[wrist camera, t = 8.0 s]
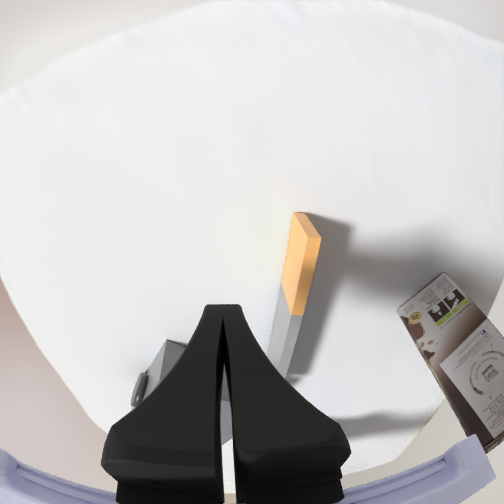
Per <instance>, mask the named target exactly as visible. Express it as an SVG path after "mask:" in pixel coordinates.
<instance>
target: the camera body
mask: <svg viewBox="0 0 504 504" xmlns="http://www.w3.org/2000/svg"><path fill="white" fill-rule="evenodd" d="M185 348H186V347H184V346H181V345H179V344H176V343H174V342H171V341H169V340H166V341H165V343H164V345H163V346H162V348H161V350H160V351H159V353H158V355H157V356H156V358H155V360H154V361H153V363H152V365H151V366H150V368H149V370H148V371H147V373H146V374H145V373H141V374H140V375H139V377H138V380H137V382H136V385H135V388H134V391H133V395H132V399H131V406H132V410H133V409H134V408H135V407H137V406H138V405H139V404H140V403H141V402H142V401H143V400H144V399H145V398H146V397H147V396H148V395H149V394H150V393H151V392H152V391H153V390H154V389H155V388H156V387H157V386H158V385H159V383H160V382H161V381H162V380H163V379H164V378H165V376H166V375H167V374H168V373H169V371H170V370H171V369H172V367H173V366H174V365H175V363H176V362H177V360H178V359H179V358H180V356H181V354H182V353H183V351H184V350H185ZM220 420H221V445H223V444H224V443H226V442H227V441H229V440H230V439H232V438H233V436H232V417H231V407H230V401H229V394H228V386H227V379H226V372H225V364H224V373H223V386H222V398H221V416H220Z"/></svg>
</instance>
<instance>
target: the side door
mask: <svg viewBox="0 0 504 504" xmlns="http://www.w3.org/2000/svg"><path fill="white" fill-rule="evenodd" d="M321 239H322V238H321V236H320V235H319V233H318V232H317V230H316V229H315V228H314V226H313V225H312V223H311V222H310V220H309V219H308V217H307V216H306V214H305V213H294V212H293V217H292V223H291V229H290V235H289V241H288V247H287V253H286V258H285V264H284V270H283V275H282V281H281V286H280V292H279V297H278V302H277V308H276V313H275V318H274V323H273V329H272V334H271V339H270V344H269V349H268V353H267V357H268V359H269V360H270V362H271V363H272V364H273V365H274V367H275V368H276V369H277V370H278V372H279V373H280V374H281V375H282V376H283V377H284V378H286V375H287V371H288V368H289V365H290V361H291V358H292V354H293V351H294V347H295V344H296V340H297V337H298V333H299V329H300V326H301V322H302V318H303V314H304V310H305V307H306V303H307V299H308V295H309V291H310V287H311V283H312V278H313V274H314V270H315V266H316V261H317V257H318V253H319V248H320V244H321Z"/></svg>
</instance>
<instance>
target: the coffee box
mask: <svg viewBox="0 0 504 504" xmlns="http://www.w3.org/2000/svg"><path fill="white" fill-rule="evenodd" d="M397 312H398V314H399V316H400V318H401V320H402V321H403V323H404V325H405V326H406V328H407V330H408V332H409V334H410V335H411V337H412V339H413V341H414V343H415V344H416V346H417V348H418V350H419V351H420V353H421V355H422V357H423V358H424V360H425V362H426V363H427V365H428V367H429V368H430V370H431V372H432V374H433V375H434V377H435V379H436V381H437V382H438V384H439V386H440V388H441V389H442V391H443V393H444V395H445V396H446V398H447V400H448V402H449V404H450V405H451V407H452V409H453V411H454V413H455V414H456V416H457V418H458V420H459V422H460V424H461V426H462V428H463V430H464V431H465V434H466V436H467V437H469V436H471V435H473V434H476V435H477V437H478V439H479V441H480V443H481V445H482V447H483V449H484V451H485V454H487V453H488V452H490V451H491V450H492V449H494V448H495V447H496V446H498V445H499V444H500V443H501V442H502V441H503V440H504V337H503V336H502V335H501V334H500V332H499V331H498V330H497V329H496V328H495V327H494V325H493V324H492V323H491V322H490V320H489V319H488V318H487V317H486V316H485V315H484V314H483V313H482V312H481V310H480V309H479V308H478V307H477V306H476V305H475V304H474V303H473V301H472V300H471V299H470V298H469V297H468V296H467V295H466V294H465V293H464V292H463V291H462V290H461V289H460V287H459V286H458V285H457V284H456V283H455V282H454V281H453V280H452V279H451V278H450V277H449V276H448V275H447V274H446V273H445V272H444V273H442V274H441V275H440V276H439V277H437V278H436V279H435V280H434V281H433V282H432V283H430V284H429V285H428V286H427V287H425V288H424V289H423V290H422V291H420V292H419V293H418V294H416V295H415V296H414V297H413V298H411V299H410V300H409V301H408V302H406V303H405V304H404V305H402V306H401V307H399V308H398V311H397Z"/></svg>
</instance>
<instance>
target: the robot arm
mask: <svg viewBox="0 0 504 504" xmlns="http://www.w3.org/2000/svg"><path fill="white" fill-rule="evenodd" d="M224 364H225V372H226V379H227V386H228V394H229V401H230V407H231V417H232V436H233V438H232V439H233V454H234V471H235V487H236V500H237V501H236V504H459V503H461V502H462V501H464V500H465V499H467V498H468V497H470V496H471V495H473V494H474V493H476V492H477V491H479V490H480V489H481V488H483V487H484V486H486V485H487V484H489V483H490V482H491V481H493V480H494V479H495V478H496V475H495V473H494V471H493V469H492V467H491V464H490V462H489V460H488V458H487V456H486V454H485V451H484V449H483V447H482V445H481V443H480V441H479V439H478V437H477V435H476V434H473V435H471V436H469V437H468V438H466V439H464V440H462V441H460V442H458V443H456V444H455V445H453V446H452V447H451V448H449V449H448V450H447V451H446V452H445V453H444V454H443V455H441V456H439V457H437V458H435V459H432V460H430V461H428V462H426V463H423V464H421V465H418V466H416V467H413V468H411V469H408V470H406V471H403V472H400V473H398V474H395V475H392V476H389V477H386V478H383V479H380V480H376V481H373V482H370V483H367V484H363V485H359V486H356V487H352V488H348V489H344V490H343V489H342V485H341V481H340V479H341V478H342V473H341V469H340V467H341V466H342V465H343V464H344V462H345V461H346V460H347V459H348V458H349V456H350V454H351V449H350V445H349V442H348V440H347V438H346V436H345V434H344V432H343V430H342V428H341V426H340V425H339V424H338V423H337V422H335V421H334V420H332V419H331V418H329V417H328V416H326V415H325V414H324V413H322V412H321V411H320V410H318V409H317V408H316V407H315V406H313V405H312V404H311V403H310V402H308V401H307V400H306V399H305V398H304V397H303V396H302V395H301V394H300V393H298V392H297V391H296V390H295V389H294V388H293V387H292V386H291V385H290V384H289V383H288V382H287V381H286V380H285V378H284V377H283V376H282V375H281V374H280V373H279V372H278V370H277V369H276V368H275V367H274V365H273V364H272V363H271V362H270V360H269V359H268V357H267V356H266V355H265V353H264V352H263V350H262V349H261V347H260V346H259V344H258V342H257V341H256V339H255V337H254V335H253V334H252V332H251V330H250V328H249V326H248V324H247V322H246V319H245V317H244V314H243V311H242V308H241V306H240V305H239V304H218V305H206V306H205V308H204V311H203V314H202V317H201V319H200V322H199V324H198V326H197V328H196V330H195V332H194V334H193V336H192V338H191V340H190V341H189V343H188V345H187V346H186V348H185V350H184V351H183V353H182V354H181V356H180V358H179V359H178V360H177V362H176V363H175V365H174V366H173V367H172V369H171V370H170V371H169V373H168V374H167V375H166V376H165V378H164V379H163V380H162V381H161V382H160V383H159V385H158V386H157V387H156V388H155V389H154V390H153V391H152V392H151V393H150V394H149V395H148V396H147V397H146V398H145V399H144V400H143V401H142V402H141V403H140V404H139V405H138V406H137V407H135V408H134V409H133V410H132V411H131V412H129V413H128V414H127V415H126V416H124V417H123V418H122V419H120V420H119V421H118V422H116V423H115V424H114V425H112V427H111V429H110V431H109V433H108V436H107V439H106V441H105V445H104V449H103V454H102V460H101V466H102V467H103V468H104V470H105V471H106V472H107V473H108V474H110V475H111V476H112V477H113V478H114V479H115V480H117V481H118V485H117V493H113V492H109V491H105V490H100V489H96V488H93V487H89V486H85V485H81V484H78V483H75V482H72V481H68V480H66V479H63V478H60V477H56V476H54V475H51V474H48V473H45V472H43V471H41V470H38V469H35V468H33V467H31V466H28V465H26V464H24V463H21V462H19V461H17V459H16V458H15V457H14V456H12V455H11V454H10V453H8V452H7V451H5V450H3V449H1V448H0V504H223V503H224V502H225V501H224V486H223V468H222V447H221V420H220V416H221V398H222V386H223V373H224Z"/></svg>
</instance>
